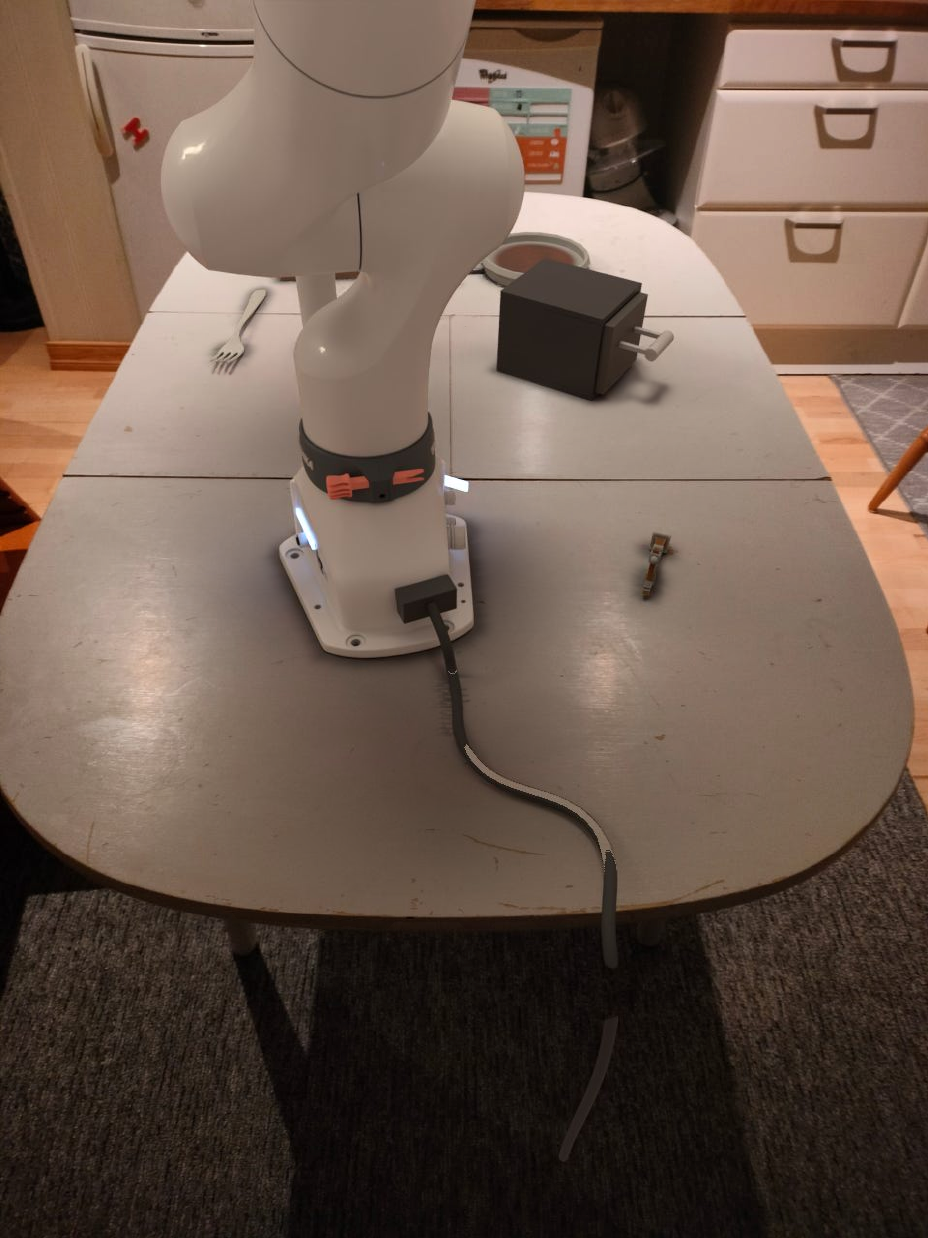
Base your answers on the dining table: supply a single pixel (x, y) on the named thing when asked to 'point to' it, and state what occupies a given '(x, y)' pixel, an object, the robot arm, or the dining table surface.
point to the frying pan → (531, 255)
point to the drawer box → (558, 324)
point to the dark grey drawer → (627, 342)
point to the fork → (234, 343)
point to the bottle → (315, 293)
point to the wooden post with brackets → (655, 558)
